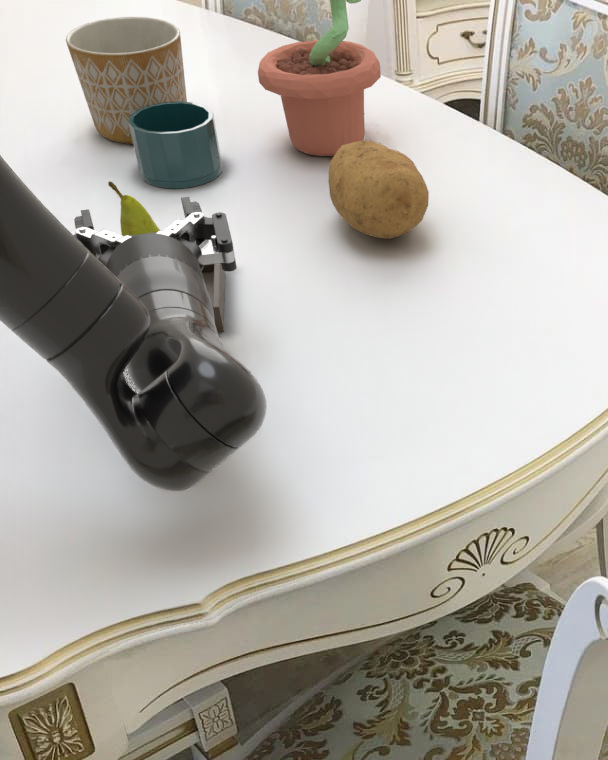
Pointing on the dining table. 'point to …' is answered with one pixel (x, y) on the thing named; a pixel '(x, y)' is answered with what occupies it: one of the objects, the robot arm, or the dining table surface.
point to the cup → (176, 144)
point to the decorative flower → (322, 86)
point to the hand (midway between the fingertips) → (137, 213)
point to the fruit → (134, 216)
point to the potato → (377, 189)
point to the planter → (126, 69)
